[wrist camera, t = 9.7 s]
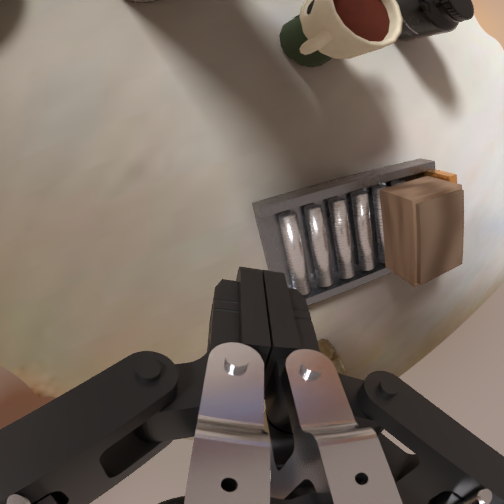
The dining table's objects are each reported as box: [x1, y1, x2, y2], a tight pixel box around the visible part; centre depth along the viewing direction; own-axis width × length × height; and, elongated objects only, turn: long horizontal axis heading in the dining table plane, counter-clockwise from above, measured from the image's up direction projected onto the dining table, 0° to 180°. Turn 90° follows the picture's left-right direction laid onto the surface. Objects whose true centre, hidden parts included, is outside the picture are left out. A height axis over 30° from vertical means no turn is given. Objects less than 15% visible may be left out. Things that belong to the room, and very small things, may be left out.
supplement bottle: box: [396, 0, 474, 41], centre depth 25 cm, size 7×7×12 cm
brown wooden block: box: [379, 176, 464, 287], centre depth 34 cm, size 8×10×7 cm
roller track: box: [252, 159, 457, 306], centre depth 36 cm, size 24×13×7 cm, turn 104°
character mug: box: [280, 0, 403, 67], centre depth 24 cm, size 11×7×13 cm, turn 135°
